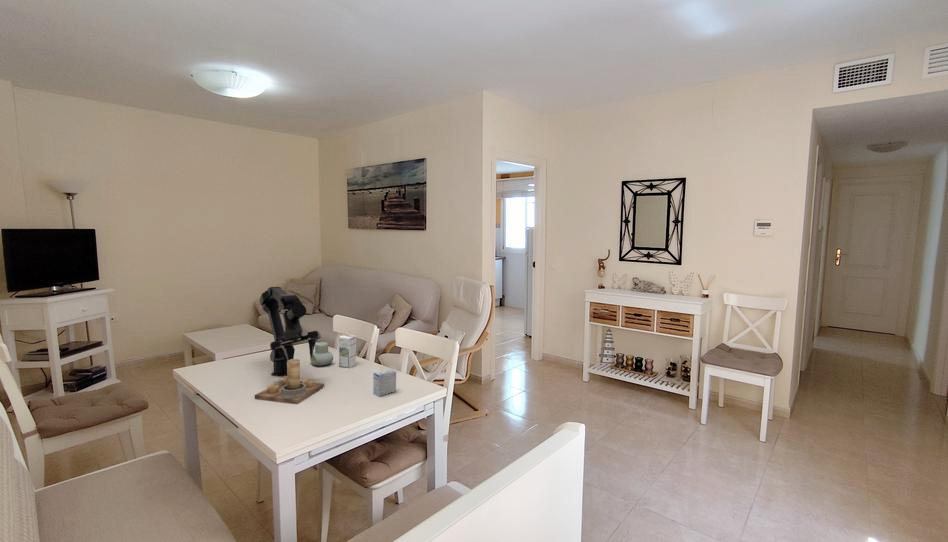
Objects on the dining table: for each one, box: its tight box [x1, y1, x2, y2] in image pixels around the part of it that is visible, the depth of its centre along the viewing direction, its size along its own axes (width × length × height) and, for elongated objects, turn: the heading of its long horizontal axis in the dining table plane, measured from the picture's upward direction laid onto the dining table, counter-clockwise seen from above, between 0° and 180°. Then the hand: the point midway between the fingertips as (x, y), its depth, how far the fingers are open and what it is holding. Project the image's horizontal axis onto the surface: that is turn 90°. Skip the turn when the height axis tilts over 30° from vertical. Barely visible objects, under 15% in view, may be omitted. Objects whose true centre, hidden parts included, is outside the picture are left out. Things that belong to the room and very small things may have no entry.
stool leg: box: [286, 358, 301, 390], centre depth 163 cm, size 4×4×13 cm
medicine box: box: [372, 368, 397, 397], centre depth 171 cm, size 8×4×9 cm, turn 135°
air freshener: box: [309, 341, 334, 367], centre depth 206 cm, size 11×8×10 cm
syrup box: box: [338, 334, 357, 369], centre depth 204 cm, size 6×6×14 cm
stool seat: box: [254, 376, 325, 405], centre depth 169 cm, size 18×18×4 cm
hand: (299, 360), depth 175 cm, fingers open, 9 cm apart
